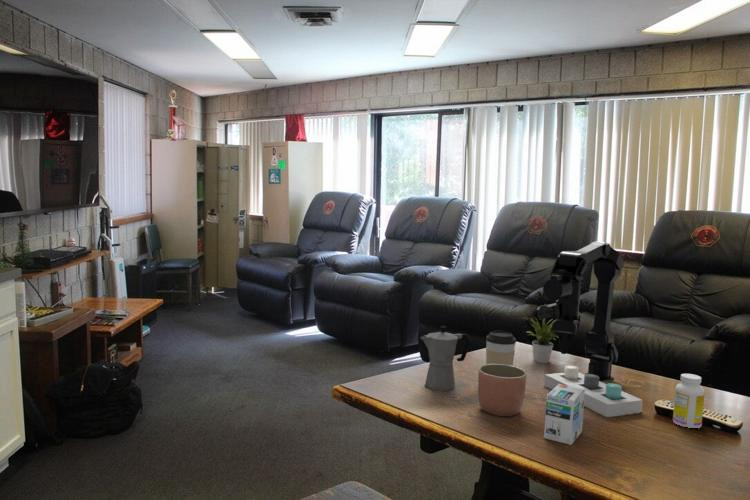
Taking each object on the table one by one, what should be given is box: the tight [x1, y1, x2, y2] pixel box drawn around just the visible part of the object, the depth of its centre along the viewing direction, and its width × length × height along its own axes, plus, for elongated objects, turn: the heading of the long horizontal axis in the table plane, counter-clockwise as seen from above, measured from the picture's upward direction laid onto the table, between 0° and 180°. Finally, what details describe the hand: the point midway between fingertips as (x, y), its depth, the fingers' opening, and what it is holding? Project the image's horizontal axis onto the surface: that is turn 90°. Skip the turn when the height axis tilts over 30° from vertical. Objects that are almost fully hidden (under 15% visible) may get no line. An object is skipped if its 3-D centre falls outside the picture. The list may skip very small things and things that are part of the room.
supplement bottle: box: [672, 373, 705, 429], centre depth 155 cm, size 7×7×13 cm
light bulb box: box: [543, 384, 585, 446], centre depth 145 cm, size 11×7×11 cm, turn 148°
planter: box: [477, 364, 528, 417], centre depth 159 cm, size 12×12×11 cm
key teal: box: [605, 382, 623, 400], centre depth 164 cm, size 4×4×4 cm
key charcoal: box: [584, 373, 599, 390], centre depth 172 cm, size 4×4×4 cm
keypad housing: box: [543, 372, 644, 418], centre depth 172 cm, size 12×26×4 cm, turn 22°
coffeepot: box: [420, 325, 472, 392], centre depth 177 cm, size 15×9×18 cm, turn 101°
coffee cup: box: [485, 329, 517, 366], centre depth 185 cm, size 9×9×15 cm
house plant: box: [521, 316, 559, 364], centre depth 208 cm, size 14×14×16 cm
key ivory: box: [563, 365, 580, 381], centre depth 180 cm, size 4×4×4 cm
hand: (565, 350), depth 173 cm, fingers open, 9 cm apart
